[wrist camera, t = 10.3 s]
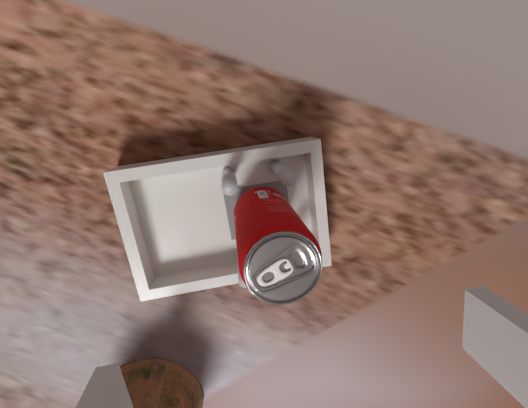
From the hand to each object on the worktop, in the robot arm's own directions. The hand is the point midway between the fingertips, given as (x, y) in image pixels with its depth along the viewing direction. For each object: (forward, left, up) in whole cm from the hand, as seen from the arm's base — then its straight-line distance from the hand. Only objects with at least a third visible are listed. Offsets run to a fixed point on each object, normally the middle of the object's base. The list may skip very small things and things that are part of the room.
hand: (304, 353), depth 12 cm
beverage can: (0, 0, -19) cm, 19 cm away
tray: (-3, 0, -20) cm, 20 cm away
